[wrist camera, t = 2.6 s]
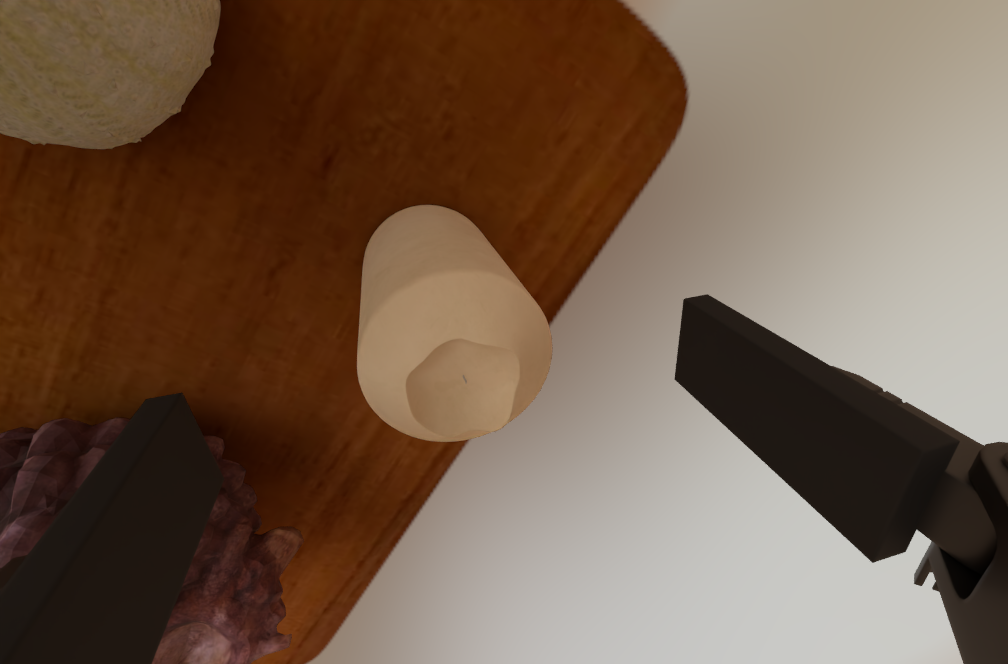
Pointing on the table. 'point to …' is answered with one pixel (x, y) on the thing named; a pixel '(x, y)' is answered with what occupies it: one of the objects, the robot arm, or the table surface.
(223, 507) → the pine cone
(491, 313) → the candle
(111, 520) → the robot arm
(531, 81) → the table surface
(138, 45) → the sea urchin shell
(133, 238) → the table surface
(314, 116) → the table surface
